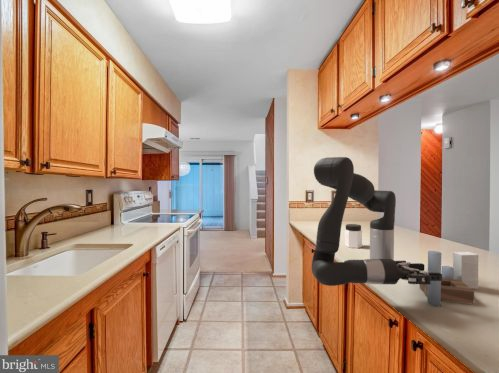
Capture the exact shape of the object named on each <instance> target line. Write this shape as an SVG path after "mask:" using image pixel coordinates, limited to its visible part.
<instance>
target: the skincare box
mask: <svg viewBox="0 0 499 373" xmlns="http://www.w3.org/2000/svg"><path fill="white" fill-rule="evenodd" d="M452 267H453V268H454V279H459V280H461V281H462V282H463V283H465V284H466V285H467V286H468V287H469V288H471V289H472V290H473V289H475V290H476V289H477V290H478V289H479V254H477V253H474V252H471V251H453V252H452Z"/></svg>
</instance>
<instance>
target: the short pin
mask: <svg viewBox="0 0 499 373" xmlns="http://www.w3.org/2000/svg"><path fill="white" fill-rule="evenodd" d="M441 274H442V278H447V279H454V268H453V266H449V265H441Z"/></svg>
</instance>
